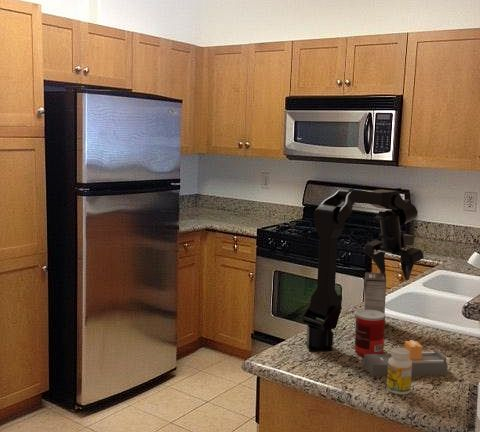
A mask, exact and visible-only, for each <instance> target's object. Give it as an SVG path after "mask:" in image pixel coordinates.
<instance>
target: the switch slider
mask: <svg viewBox="0 0 480 432" xmlns="http://www.w3.org/2000/svg"><path fill="white" fill-rule="evenodd" d="M404 349H407V350H408V351H409V358H408V359H410V360H422V352H423V346H422V345H421V344H420V343H419V342H418V341H417V340H413V339H410V340H405V341H404Z"/></svg>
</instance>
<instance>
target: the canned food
mask: <svg viewBox="0 0 480 432" xmlns="http://www.w3.org/2000/svg"><path fill="white" fill-rule="evenodd" d="M385 325H386V313H385V314H384V313H382V312H380V311H376V310H364V309H361V310H358V311H357V312H356V316H355V330H354V331H355V332H354V333H355V335H354V351H355V353H356V354H357V355H359V356H360V357H363V358H364V354H384V345H385V329H386V327H385Z"/></svg>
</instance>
